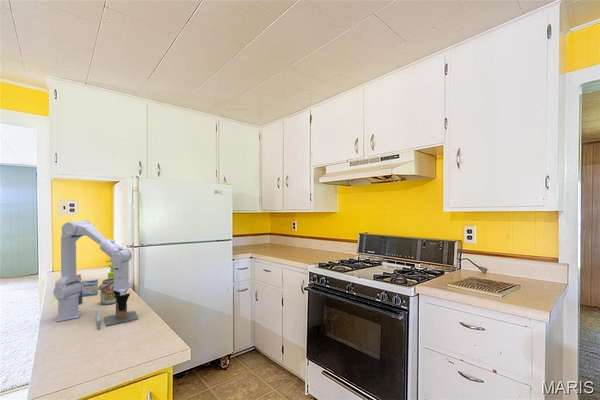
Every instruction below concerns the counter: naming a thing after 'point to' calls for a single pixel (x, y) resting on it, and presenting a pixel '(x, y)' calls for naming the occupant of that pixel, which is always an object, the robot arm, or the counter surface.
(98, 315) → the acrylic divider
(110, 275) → the soap dispenser
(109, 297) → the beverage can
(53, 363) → the counter surface
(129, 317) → the resting mat
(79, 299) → the bottle
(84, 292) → the medicine box
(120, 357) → the counter surface
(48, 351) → the counter surface
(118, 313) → the walnut block
